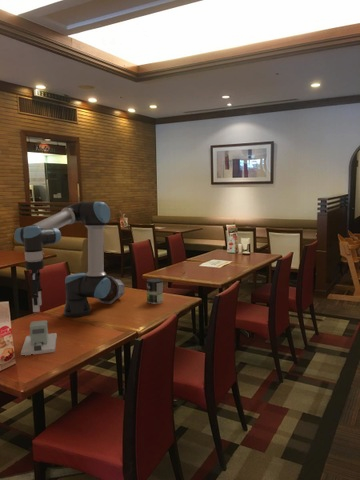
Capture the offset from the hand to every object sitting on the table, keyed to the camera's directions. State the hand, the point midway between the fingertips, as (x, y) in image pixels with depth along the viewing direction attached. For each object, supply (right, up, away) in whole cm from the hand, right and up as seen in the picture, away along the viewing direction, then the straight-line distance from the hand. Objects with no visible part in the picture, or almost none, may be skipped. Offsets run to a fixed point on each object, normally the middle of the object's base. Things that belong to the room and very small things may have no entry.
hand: (37, 308), depth 178 cm
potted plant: (+18, -9, +67) cm, 70 cm away
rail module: (0, -16, +2) cm, 16 cm away
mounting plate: (0, -17, +2) cm, 18 cm away
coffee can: (+49, -8, +70) cm, 86 cm away
